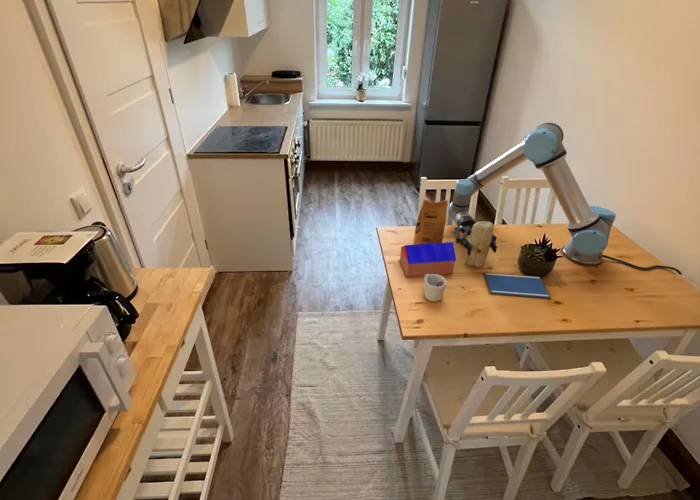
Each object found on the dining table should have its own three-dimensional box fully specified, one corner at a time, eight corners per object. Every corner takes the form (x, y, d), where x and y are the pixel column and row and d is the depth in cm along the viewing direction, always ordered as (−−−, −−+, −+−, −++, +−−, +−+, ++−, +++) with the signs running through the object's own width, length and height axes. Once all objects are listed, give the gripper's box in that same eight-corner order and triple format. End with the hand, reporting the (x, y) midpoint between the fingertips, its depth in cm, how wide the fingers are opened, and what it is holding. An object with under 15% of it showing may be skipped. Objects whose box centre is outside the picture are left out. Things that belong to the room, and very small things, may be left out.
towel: (539, 277, 157) (539, 276, 156) (549, 298, 146) (550, 297, 145) (484, 273, 158) (484, 272, 158) (490, 293, 147) (491, 292, 147)
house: (453, 273, 158) (458, 250, 151) (406, 277, 155) (409, 253, 148) (443, 257, 168) (447, 234, 161) (398, 260, 165) (401, 237, 158)
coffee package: (413, 236, 181) (418, 194, 169) (439, 238, 181) (447, 195, 169) (414, 248, 173) (420, 204, 161) (442, 250, 172) (450, 206, 160)
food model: (480, 258, 168) (490, 217, 157) (488, 266, 162) (500, 225, 151) (460, 260, 165) (469, 220, 154) (468, 269, 160) (477, 228, 149)
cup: (414, 288, 149) (417, 271, 145) (432, 284, 152) (435, 267, 147) (429, 306, 141) (432, 289, 136) (447, 301, 143) (451, 284, 139)
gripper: (487, 229, 176) (507, 257, 158) (439, 230, 175) (454, 258, 156) (491, 215, 172) (512, 241, 153) (442, 215, 170) (457, 242, 152)
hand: (483, 250), depth 155 cm, fingers closed on food model, 10 cm apart
